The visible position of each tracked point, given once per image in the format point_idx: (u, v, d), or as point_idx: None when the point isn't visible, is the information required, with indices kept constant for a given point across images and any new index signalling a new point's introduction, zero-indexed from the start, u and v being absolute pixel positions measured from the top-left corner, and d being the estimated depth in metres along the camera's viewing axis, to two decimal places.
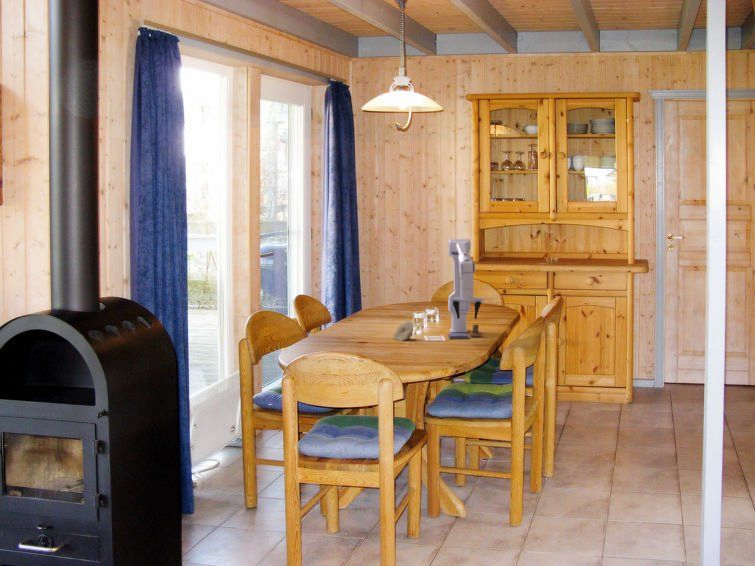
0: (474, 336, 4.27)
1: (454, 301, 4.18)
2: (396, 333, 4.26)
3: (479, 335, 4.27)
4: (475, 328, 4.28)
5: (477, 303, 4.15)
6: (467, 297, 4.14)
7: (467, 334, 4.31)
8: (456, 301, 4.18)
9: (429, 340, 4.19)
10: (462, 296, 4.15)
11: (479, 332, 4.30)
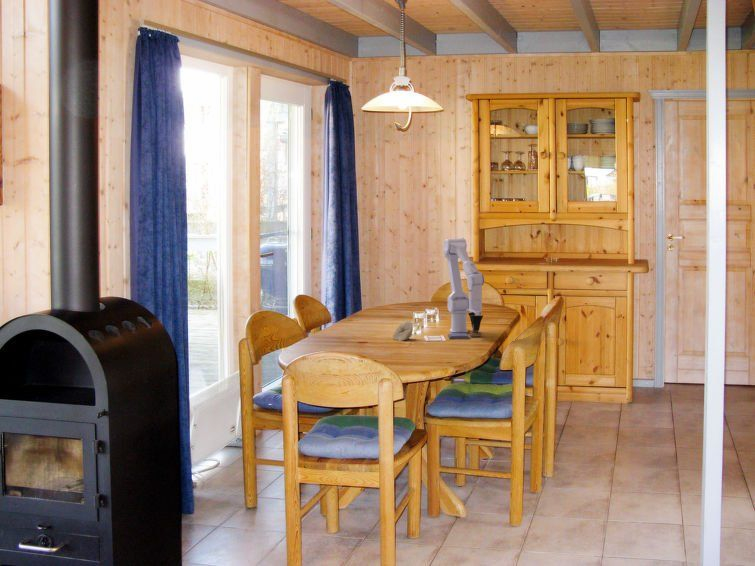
0: (474, 336, 4.27)
1: None
2: (395, 333, 4.25)
3: (479, 335, 4.27)
4: None
5: (472, 315, 4.24)
6: (469, 308, 4.28)
7: (467, 334, 4.31)
8: None
9: (429, 340, 4.19)
10: None
11: (479, 332, 4.30)
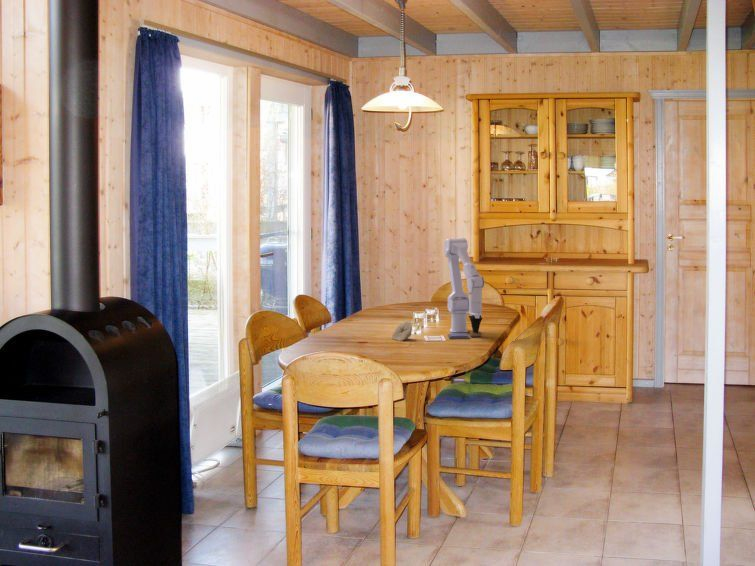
0: (474, 336, 4.27)
1: None
2: (395, 333, 4.25)
3: (479, 335, 4.27)
4: None
5: (472, 317, 4.26)
6: (469, 310, 4.28)
7: (467, 334, 4.31)
8: None
9: (429, 340, 4.19)
10: None
11: (479, 332, 4.30)
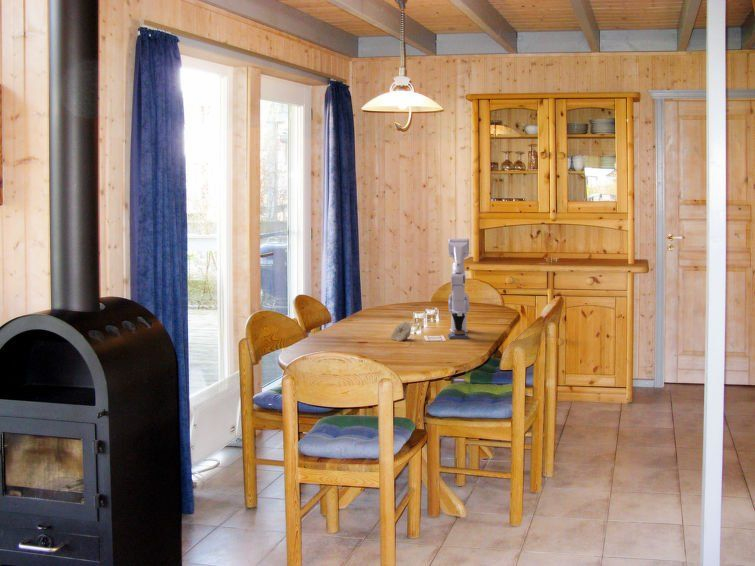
0: (458, 334, 4.26)
1: None
2: (394, 333, 4.25)
3: (463, 333, 4.26)
4: None
5: (454, 315, 4.24)
6: (452, 308, 4.26)
7: (467, 334, 4.31)
8: None
9: (429, 340, 4.19)
10: None
11: (463, 330, 4.28)
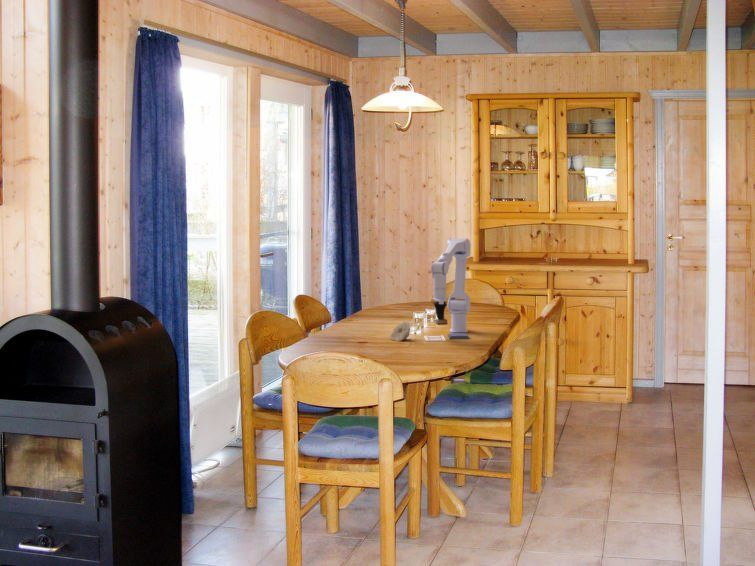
0: (441, 323, 4.20)
1: None
2: (393, 333, 4.25)
3: (446, 322, 4.21)
4: None
5: (436, 303, 4.19)
6: None
7: (467, 334, 4.31)
8: None
9: (429, 340, 4.19)
10: None
11: (445, 319, 4.23)
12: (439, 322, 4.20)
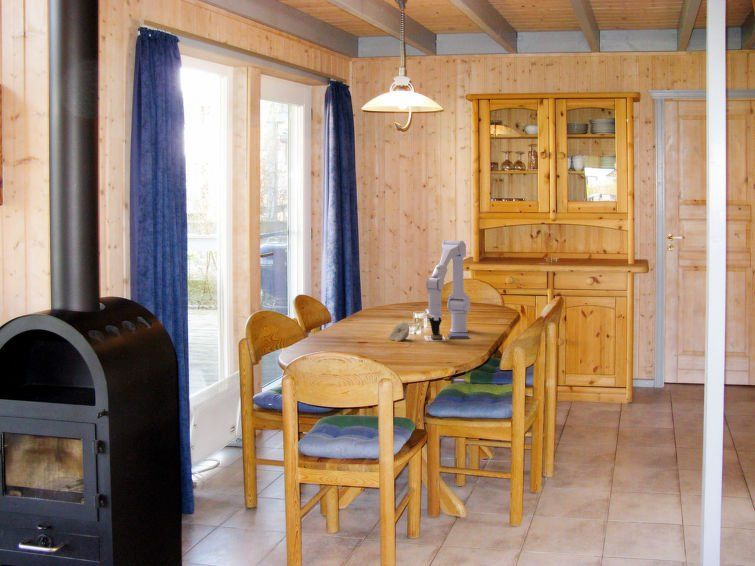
0: (436, 339, 4.20)
1: None
2: (392, 334, 4.24)
3: (441, 337, 4.20)
4: None
5: (431, 319, 4.19)
6: None
7: (467, 334, 4.31)
8: None
9: (429, 340, 4.19)
10: None
11: (440, 334, 4.23)
12: (434, 337, 4.20)
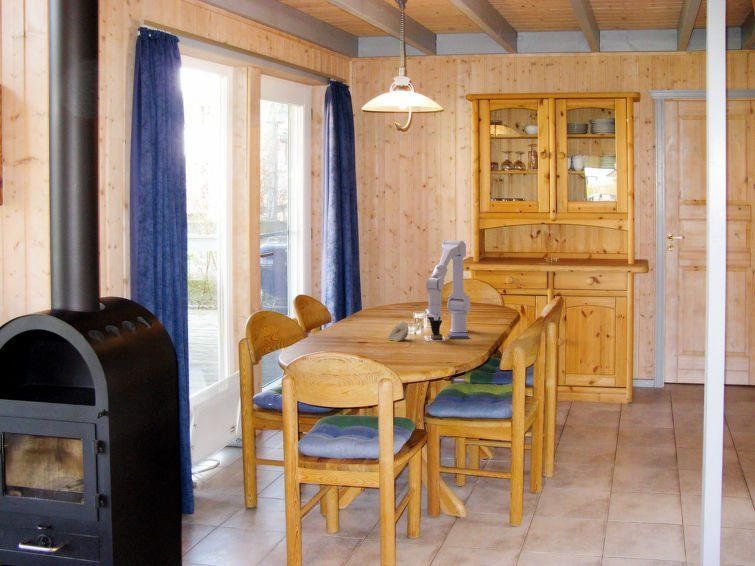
0: (436, 339, 4.20)
1: None
2: (391, 334, 4.24)
3: (441, 337, 4.20)
4: None
5: (431, 320, 4.17)
6: (429, 312, 4.21)
7: (467, 334, 4.31)
8: None
9: (429, 340, 4.19)
10: None
11: (440, 334, 4.23)
12: (434, 337, 4.20)
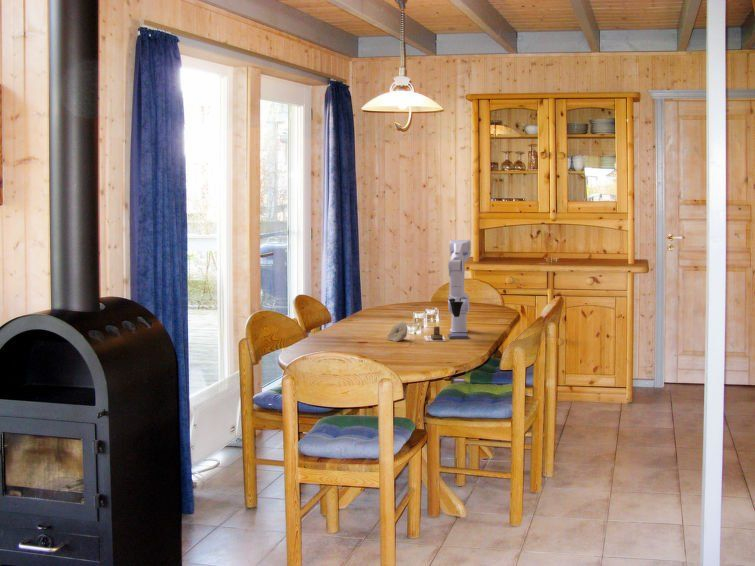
0: (436, 339, 4.20)
1: None
2: (390, 334, 4.24)
3: (441, 337, 4.20)
4: (436, 330, 4.21)
5: (452, 301, 4.22)
6: None
7: (467, 334, 4.31)
8: None
9: (429, 340, 4.19)
10: None
11: (440, 334, 4.23)
12: (434, 337, 4.20)
